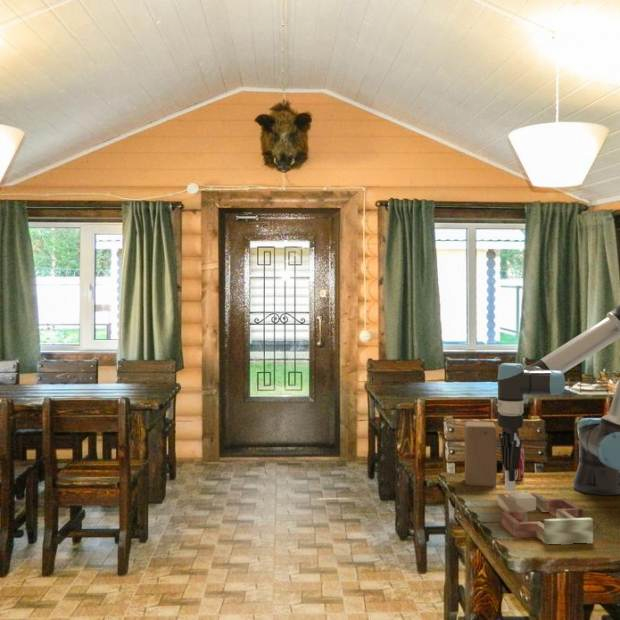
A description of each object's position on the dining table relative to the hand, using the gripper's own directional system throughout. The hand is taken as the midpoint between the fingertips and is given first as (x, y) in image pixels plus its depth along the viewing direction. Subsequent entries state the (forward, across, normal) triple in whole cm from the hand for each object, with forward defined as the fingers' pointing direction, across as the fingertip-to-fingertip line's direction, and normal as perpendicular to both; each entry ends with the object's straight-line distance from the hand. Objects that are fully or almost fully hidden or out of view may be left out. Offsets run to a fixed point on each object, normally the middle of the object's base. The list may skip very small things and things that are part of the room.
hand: (510, 490), depth 211 cm
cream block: (+3, +8, 0) cm, 9 cm away
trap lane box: (+3, +22, 0) cm, 22 cm away
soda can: (+3, -24, +11) cm, 27 cm away
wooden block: (+3, -20, -2) cm, 21 cm away
